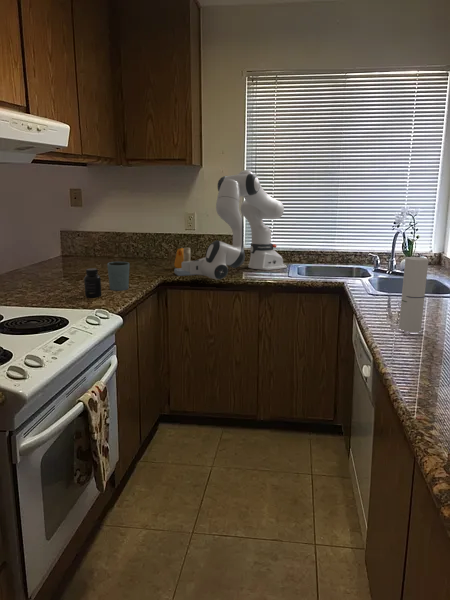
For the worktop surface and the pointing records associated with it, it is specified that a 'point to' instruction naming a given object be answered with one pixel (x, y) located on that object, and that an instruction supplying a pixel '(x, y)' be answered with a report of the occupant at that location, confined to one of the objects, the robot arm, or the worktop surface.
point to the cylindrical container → (413, 294)
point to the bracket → (179, 258)
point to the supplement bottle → (92, 283)
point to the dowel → (186, 254)
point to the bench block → (182, 272)
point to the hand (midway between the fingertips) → (195, 262)
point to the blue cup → (118, 275)
